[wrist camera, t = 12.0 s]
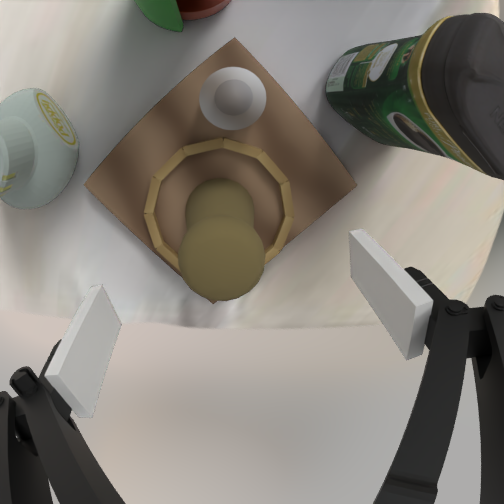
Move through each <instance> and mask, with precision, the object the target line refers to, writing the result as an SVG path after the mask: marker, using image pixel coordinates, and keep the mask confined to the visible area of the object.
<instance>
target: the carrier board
mask: <svg viewBox="0 0 504 504" xmlns="http://www.w3.org/2000/svg"><path fill="white" fill-rule="evenodd" d="M214 178H226V179H230V180H233V181H235V182H238V183H239V184H240V185H242V186H243V187H244V188H245V189H247V191H248V193H249V194H250V196H251V197H252V200H253V204H254V229H255V231H256V232H257V234H258V235H259V237H260V239H261V240H262V243H263V247H264V251H265V264H266V263H268V262H269V261H270V260H271V259H272V258H274V257H275V256H276V255H277V254H279V253H280V250H282V248H283V247H284V246H285V245H286V244H288V243H289V242H290V241H291V240H293V239H294V238H295V237H296V236H297V235H299V234H300V233H301V232H302V231H303V230H305V229H306V228H307V227H308V226H309V225H311V224H312V223H313V222H314V221H315V220H317V219H318V218H319V217H320V216H321V215H323V214H324V213H325V212H326V211H327V210H329V209H330V208H331V207H332V206H333V205H335V204H336V203H337V202H338V201H339V200H341V199H342V198H343V197H344V196H345V195H347V194H348V193H349V192H350V191H351V190H353V189H354V188H355V187H356V186H357V184H356V183H355V181H354V180H353V179H352V177H351V176H350V174H349V173H348V171H347V170H346V169H345V167H344V166H343V164H342V163H341V162H340V160H339V159H338V158H337V156H336V155H335V154H334V152H333V151H332V150H331V148H330V147H329V146H328V144H327V143H326V142H325V140H324V139H323V138H322V136H321V135H320V134H319V132H318V131H317V130H316V129H315V127H314V126H313V125H312V124H311V122H310V121H309V120H308V119H307V117H306V116H305V115H304V114H303V112H302V111H301V110H300V109H299V108H298V106H297V105H296V104H295V103H294V102H293V100H292V99H291V98H290V97H289V96H288V95H287V93H286V92H285V91H284V90H283V89H282V88H281V86H280V85H279V84H278V83H277V82H276V81H275V80H274V78H273V77H272V76H271V75H270V74H269V73H268V72H267V71H266V70H265V69H264V67H263V66H262V65H261V64H260V63H259V62H258V61H257V60H256V59H255V58H254V57H253V56H252V55H251V54H250V53H249V51H248V50H247V49H246V48H245V47H244V46H243V45H242V44H241V43H240V42H239V41H238V40H237V39H236V38H233V39H232V40H231V41H229V42H228V43H227V44H226V45H224V46H223V47H222V48H220V49H219V50H218V51H217V52H215V53H214V54H213V55H212V56H210V57H209V58H208V59H207V60H205V61H204V62H203V63H202V64H201V65H199V66H198V67H197V68H196V69H195V70H193V71H192V72H191V73H190V74H189V75H188V76H186V77H185V78H184V79H183V80H182V81H181V82H180V83H179V84H177V85H176V86H175V87H174V88H173V89H172V90H171V91H170V92H169V93H168V94H167V95H166V96H164V97H163V98H162V99H161V100H160V101H159V102H158V103H157V104H156V105H155V106H154V107H153V108H152V109H151V110H150V111H149V112H148V113H147V114H146V115H145V116H144V117H143V118H142V119H141V120H140V121H139V122H138V123H137V124H136V125H135V126H134V127H133V128H132V129H131V130H130V131H129V133H128V134H127V135H126V136H125V137H124V138H123V139H122V140H121V141H120V142H119V143H118V144H117V146H116V147H115V148H114V149H113V150H112V151H111V152H110V153H109V155H108V156H107V157H106V158H105V159H104V160H103V162H102V163H101V164H100V165H99V166H98V167H97V169H96V170H95V171H94V172H93V174H92V175H91V176H90V177H89V178H88V180H87V181H86V182H85V183H84V186H85V187H86V188H87V189H88V190H89V191H90V192H91V193H92V194H93V195H94V196H95V197H96V198H97V199H98V200H99V201H100V202H101V203H102V204H103V205H104V206H105V207H106V208H107V209H108V210H109V211H110V212H111V213H112V214H114V215H115V216H116V217H117V218H118V219H119V220H120V221H121V222H122V223H123V224H124V225H125V226H126V227H127V228H128V229H129V230H130V231H131V232H132V233H134V234H135V235H136V236H137V237H138V238H139V239H140V240H141V241H142V242H143V243H144V244H145V245H146V246H148V247H149V248H150V249H151V250H152V251H153V252H154V253H155V254H156V255H157V256H159V257H160V258H161V259H162V260H163V261H164V262H165V263H166V264H167V265H169V266H170V267H171V268H172V269H173V270H174V271H175V272H176V273H178V274H179V275H180V276H181V277H182V274H181V272H180V269H179V266H178V251H179V248H180V245H181V242H182V239H183V237H184V235H185V234H186V233H187V225H186V217H185V209H186V203H187V200H188V198H189V195H190V194H191V193H192V191H193V190H194V189H195V188H196V187H197V186H198V185H200V184H201V183H203V182H205V181H207V180H211V179H214ZM265 264H264V265H265ZM182 278H183V277H182ZM206 299H208V298H206ZM208 300H209V301H210V302H211V303H212V304H214V303H215V302H217V301H214V300H211V299H208Z"/></svg>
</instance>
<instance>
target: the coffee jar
mask: <svg viewBox="0 0 504 504" xmlns="http://www.w3.org/2000/svg"><path fill="white" fill-rule="evenodd" d="M326 95H327V98H328V101H329V103H330V105H331V106H332V107H333V109H334V110H335V111H336V112H337V113H338V114H339V115H340V116H342V117H343V118H344V119H345V120H346V121H347V122H349V123H350V124H351V125H353V126H354V127H355V128H357V129H358V130H359V131H361V132H362V133H364V134H365V135H367V136H368V137H370V138H372V139H373V140H375V141H377V142H379V143H382V144H385V145H390V146H395V147H402V148H409V149H414V150H418V151H423V152H427V153H432V154H436V155H440V156H443V157H446V158H449V159H452V160H455V161H457V162H460V163H462V164H464V165H467V166H469V167H471V168H473V169H475V170H477V171H479V172H482V173H484V174H486V175H489V176H491V177H494V178H498V179H502V180H504V22H503V21H501V20H500V19H499V18H498V17H496V16H494V15H492V14H488V13H474V14H471V15H456V16H447V17H445V18H443V19H441V20H439V21H437V22H436V23H434V24H433V25H432V26H431V27H430V28H429V29H428V30H427V31H426V32H425V33H424V34H423V35H419V36H415V37H409V38H404V39H398V40H392V41H386V42H379V43H372V44H366V45H362V46H358V47H355V48H353V49H350V50H348V51H347V52H346V53H345V54H344V55H343V56H342V57H341V58H340V59H339V60H338V62H337V63H336V64H335V66H334V68H333V69H332V71H331V73H330V75H329V78H328V81H327V84H326Z"/></svg>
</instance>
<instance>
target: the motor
mask: <svg viewBox="0 0 504 504" xmlns="http://www.w3.org/2000/svg"><path fill="white" fill-rule="evenodd" d="M134 1H135V2H136V4H137V5H138V7H139V8H140V9H141V11H142V12H143V14H144V15H145V16H146V17H147V18H148V19H149V20H150V21H152V22H153V23H154V24H156V25H158V26H160V27H162V28H165V29H168V30H172V31H177V32H182V29H183V26H184V25H183V22H182V20H195V19H201V18H205V17H208V16H211V15H213V14H215V13H217V12H219V11H220V10H222V9H223V8H224V7H226V6H227V5H228V4H229V3H230V1H231V0H134Z"/></svg>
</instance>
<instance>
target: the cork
mask: <svg viewBox="0 0 504 504" xmlns="http://www.w3.org/2000/svg"><path fill="white" fill-rule="evenodd" d="M185 217H186V225H187V233H186V234H185V235H184V237H183V239H182V242H181V245H180V248H179V251H178V266H179V269H180V272H181V274H182V277H183V280H184V281H185V282H186V284H187V285H188V286H189V287H190V288H191V290H193V291H194V292H196V293H197V294H199V295H200V296H202V297H205V298H208V299H211V300H214V301H228V300H232V299H236V298H239V297H240V296H242V295H244V294H246V293H248V292H249V291H250V290H251V289H252V288H253V287H254V286H255V285H256V284H257V283H258V281H259V279H260V277H261V275H262V273H263V271H264V264H265V251H264V247H263V243H262V240H261V239H260V237H259V235H258V234H257V232H256V231H255V229H254V204H253V200H252V197H251V196H250V194H249V193H248V191H247V189H245V188H244V187H243V186H242V185H240V184H239V183H238V182H235V181H233V180H230V179H226V178H214V179H211V180H207V181H205V182H203V183H201V184H200V185H198V186H197V187H196V188H195V189H194V190H193V191H192V193H191V194H190V195H189V198H188V200H187V203H186V209H185Z"/></svg>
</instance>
